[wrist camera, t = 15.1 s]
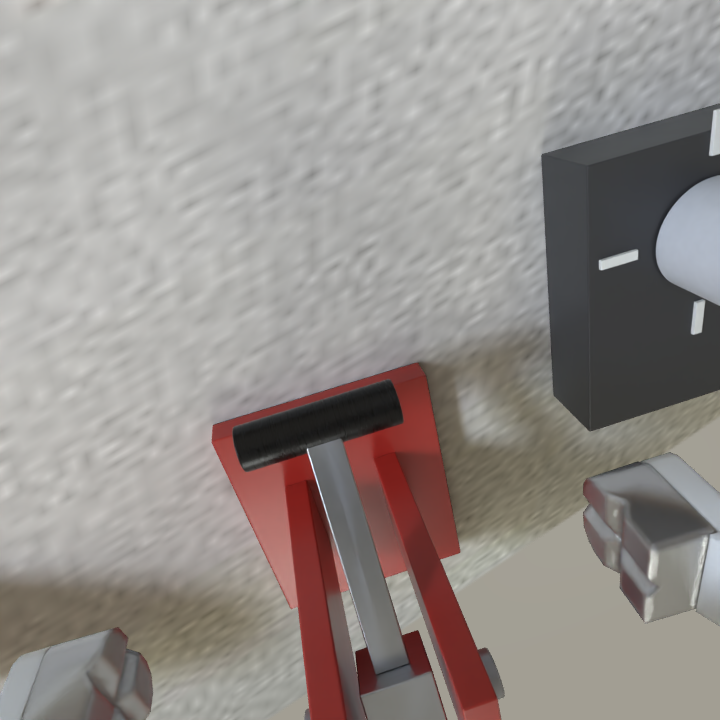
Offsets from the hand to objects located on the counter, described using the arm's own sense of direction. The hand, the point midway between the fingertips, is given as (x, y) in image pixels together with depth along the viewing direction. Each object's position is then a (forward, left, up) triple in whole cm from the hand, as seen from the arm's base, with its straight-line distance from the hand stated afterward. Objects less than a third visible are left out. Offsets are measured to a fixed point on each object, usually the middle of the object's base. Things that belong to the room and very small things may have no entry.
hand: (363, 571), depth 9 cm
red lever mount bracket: (+10, 0, -13) cm, 16 cm away
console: (+3, +15, -13) cm, 20 cm away
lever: (+7, 0, -6) cm, 9 cm away
